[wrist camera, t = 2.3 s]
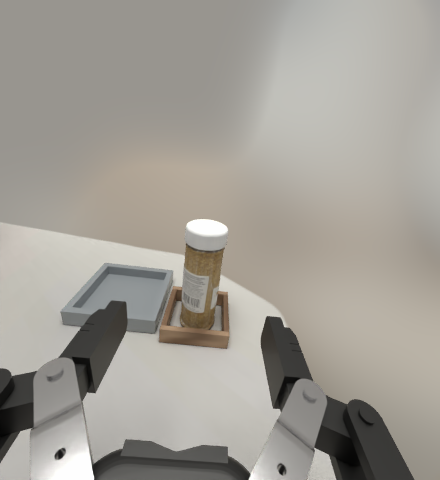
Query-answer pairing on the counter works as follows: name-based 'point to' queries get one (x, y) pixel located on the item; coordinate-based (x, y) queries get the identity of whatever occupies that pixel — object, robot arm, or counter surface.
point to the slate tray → (122, 295)
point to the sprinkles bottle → (202, 272)
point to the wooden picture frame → (191, 334)
